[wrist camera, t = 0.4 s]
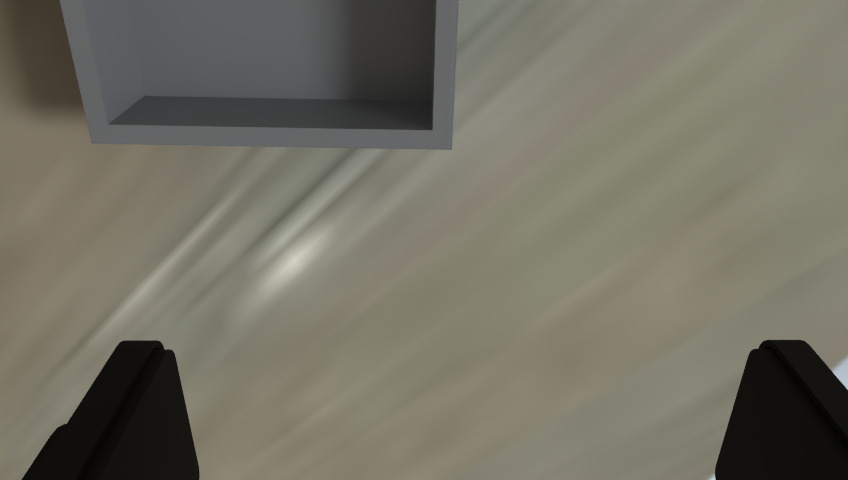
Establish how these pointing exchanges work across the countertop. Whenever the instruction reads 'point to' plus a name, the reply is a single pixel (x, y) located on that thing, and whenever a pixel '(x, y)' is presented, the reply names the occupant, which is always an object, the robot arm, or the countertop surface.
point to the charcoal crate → (266, 72)
